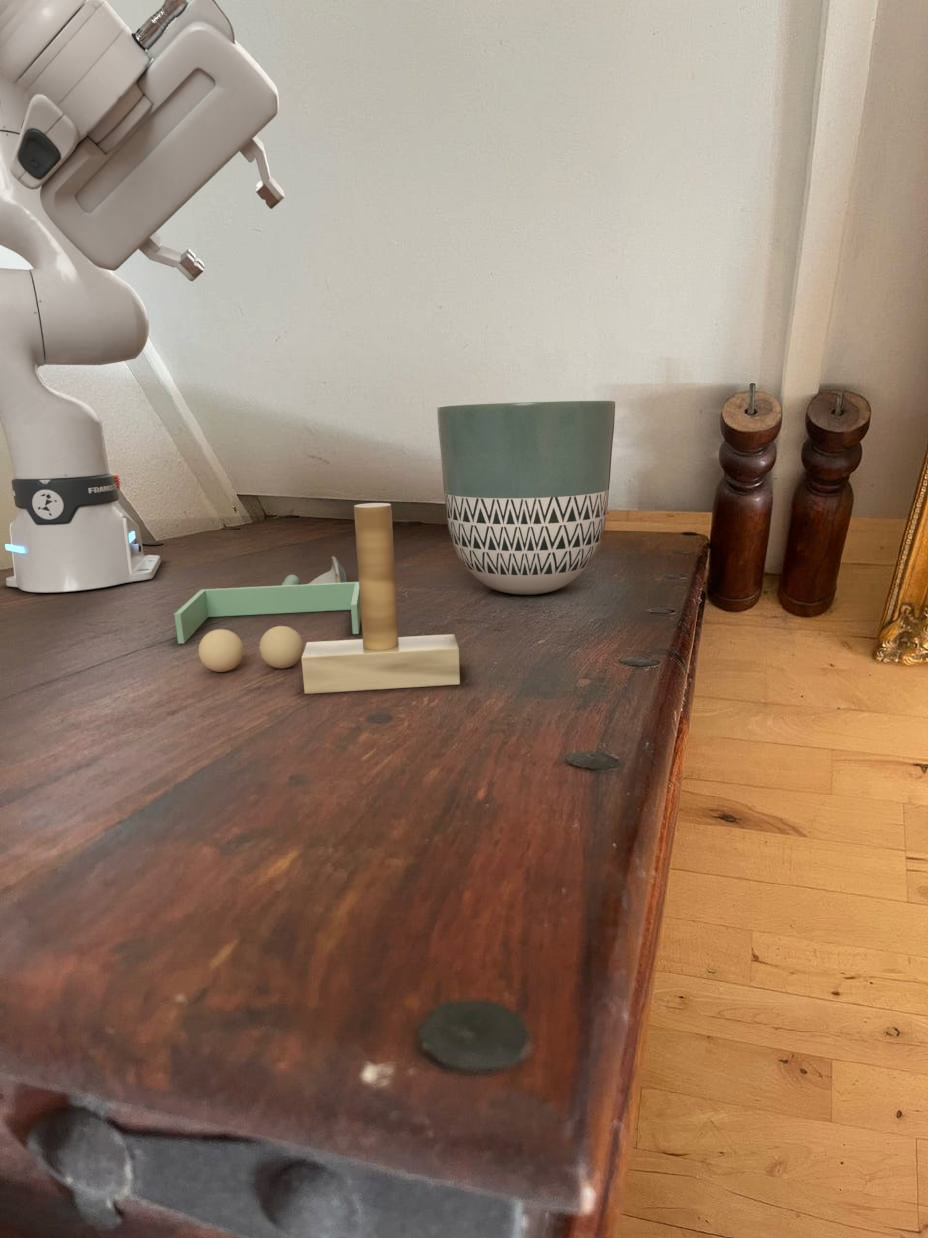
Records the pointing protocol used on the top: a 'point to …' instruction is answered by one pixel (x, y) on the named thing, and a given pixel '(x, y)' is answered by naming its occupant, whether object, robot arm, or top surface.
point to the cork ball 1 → (220, 650)
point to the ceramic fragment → (332, 574)
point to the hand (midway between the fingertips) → (237, 238)
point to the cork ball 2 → (281, 647)
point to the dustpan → (268, 602)
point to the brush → (379, 628)
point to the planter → (526, 489)
